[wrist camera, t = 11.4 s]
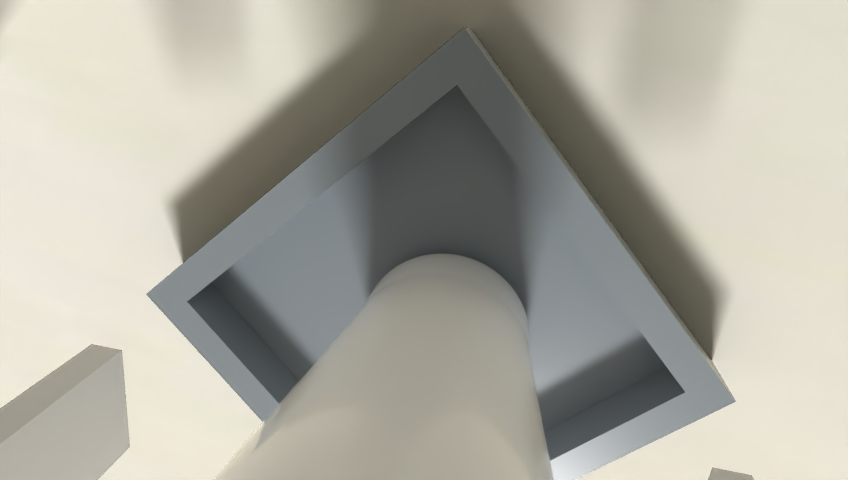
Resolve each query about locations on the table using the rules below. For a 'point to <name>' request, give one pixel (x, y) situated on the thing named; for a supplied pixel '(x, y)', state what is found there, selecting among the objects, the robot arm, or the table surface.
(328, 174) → the grey tray
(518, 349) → the white cup
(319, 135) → the table surface
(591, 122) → the table surface
